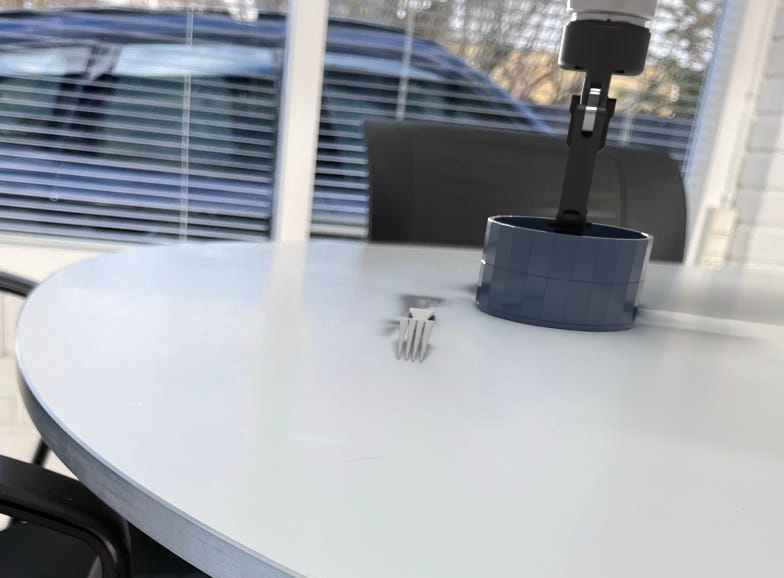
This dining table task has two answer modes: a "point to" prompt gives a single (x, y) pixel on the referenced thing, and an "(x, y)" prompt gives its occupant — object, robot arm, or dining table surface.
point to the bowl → (562, 274)
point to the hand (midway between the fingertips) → (555, 299)
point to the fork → (416, 323)
